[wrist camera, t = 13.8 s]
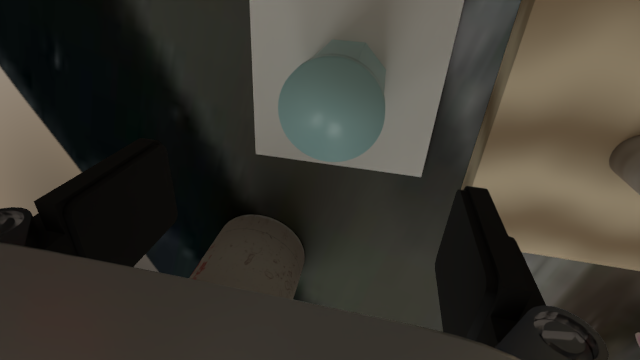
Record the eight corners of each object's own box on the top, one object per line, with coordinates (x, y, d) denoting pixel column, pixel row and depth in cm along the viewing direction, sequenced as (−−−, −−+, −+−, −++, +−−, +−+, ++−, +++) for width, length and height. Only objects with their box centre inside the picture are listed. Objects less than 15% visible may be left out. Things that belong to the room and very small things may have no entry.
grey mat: (420, 172, 25) (421, 177, 24) (258, 150, 26) (255, 154, 26) (467, -23, 18) (469, -22, 18) (251, -37, 20) (248, -38, 19)
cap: (393, 41, 20) (393, 63, 15) (380, 125, 23) (376, 168, 18) (306, 33, 21) (277, 52, 16) (303, 115, 23) (278, 154, 18)
